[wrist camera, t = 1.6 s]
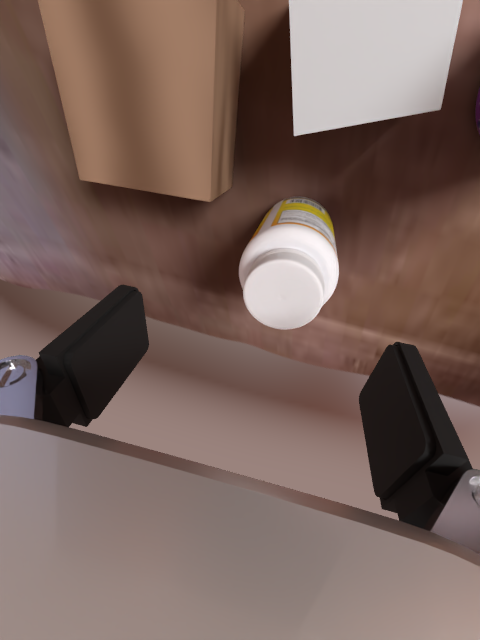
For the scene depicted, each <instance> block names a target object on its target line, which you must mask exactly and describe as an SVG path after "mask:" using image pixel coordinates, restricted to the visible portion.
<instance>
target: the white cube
mask: <svg viewBox="0 0 480 640" xmlns="http://www.w3.org/2000/svg"><path fill="white" fill-rule="evenodd" d="M462 2H463V0H289V15H290V43H291V70H292V98H293V126H294V136H298V135H303V134H309V133H314V132H320V131H325V130H331V129H337V128H342V127H348V126H353V125H359V124H364V123H370V122H375V121H381V120H386V119H392V118H397V117H403V116H409V115H414V114H420V113H425V112H431V111H436V110H441V105H442V100H443V96H444V91H445V86H446V81H447V76H448V71H449V66H450V61H451V56H452V51H453V46H454V41H455V37H456V32H457V27H458V22H459V17H460V12H461V7H462Z"/></svg>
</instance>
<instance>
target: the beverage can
mask: <svg viewBox="0 0 480 640" xmlns="http://www.w3.org/2000/svg"><path fill="white" fill-rule="evenodd" d="M475 116H476V125H477V129H478V132H479V135H480V88H479V91H478V95H477V100H476V110H475Z"/></svg>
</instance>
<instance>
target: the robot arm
mask: <svg viewBox="0 0 480 640" xmlns="http://www.w3.org/2000/svg"><path fill="white" fill-rule="evenodd" d="M148 346H149V341H148V334H147V326H146V319H145V312H144V305H143V298H142V294H141V292H139V291H138V289H137V288H136V287H131V286H126V285H120V286H118V287H117V288H116V289H115V290H114V291H112V292H111V293H110V294H109V295H107V296H106V297H105V298H104V299H103V300H101V301H100V302H99V303H98V304H97V305H95V306H94V307H93V308H92V309H91V310H89V311H88V312H87V313H86V314H85V315H83V316H82V317H81V318H80V319H79V320H77V321H76V322H75V323H74V324H73V325H71V326H70V327H69V328H68V329H66V330H65V331H64V332H63V333H62V334H60V335H59V336H58V337H57V338H56V339H54V340H53V341H52V342H51V343H50V344H48V345H47V346H46V347H45V348H44V349H43V350H41V351H40V352H39V354H40V357H39V358H38V359H36V360H35V359H34V358H32V357H29V356H22V355H18V356H11V357H7V358H4V359H1V360H0V640H480V470H477V469H473V468H472V466H471V464H470V462H469V459H468V457H467V455H466V452H465V450H464V448H463V446H462V444H461V442H460V440H459V437H458V435H457V433H456V431H455V429H454V427H453V425H452V422H451V421H450V418H449V416H448V414H447V412H446V410H445V408H444V405H443V403H442V401H441V399H440V397H439V395H438V392H437V390H436V388H435V386H434V384H433V382H432V380H431V377H430V375H429V373H428V371H427V369H426V367H425V365H424V362H423V360H422V358H421V356H420V354H419V352H418V350H417V348H416V346H414V345H410V344H405V343H400V342H395V343H394V344H393V345H388V346H387V348H386V349H385V351H384V353H383V355H382V356H381V358H380V360H379V361H378V363H377V365H376V367H375V368H374V370H373V372H372V374H371V375H370V377H369V379H368V380H367V382H366V384H365V386H364V387H363V389H362V391H361V393H360V396H359V404H360V410H361V416H362V422H363V428H364V434H365V439H366V446H367V452H368V458H369V464H370V470H371V476H372V482H373V487H374V492H375V495H376V496H377V497H380V501H381V507H382V509H384V510H388V511H391V512H395V513H398V517H399V521H398V520H395V519H392V518H388V517H384V516H382V515H378V514H375V513H372V512H369V511H365V510H362V509H359V508H355V507H352V506H349V505H345V504H342V503H339V502H335V501H331V500H328V499H325V498H321V497H317V496H314V495H311V494H307V493H303V492H300V491H296V490H293V489H289V488H286V487H282V486H279V485H275V484H272V483H268V482H265V481H261V480H258V479H254V478H251V477H247V476H244V475H240V474H236V473H233V472H229V471H226V470H222V469H219V468H215V467H212V466H207V465H204V464H201V463H197V462H193V461H190V460H186V459H182V458H179V457H176V456H172V455H169V454H165V453H161V452H158V451H154V450H150V449H147V448H143V447H139V446H135V445H132V444H128V443H125V442H121V441H117V440H114V439H110V438H107V437H102V436H99V435H96V434H92V433H88V432H84V431H80V430H76V429H72V428H69V426H70V425H71V424H72V422H73V423H75V424H78V425H82V426H85V427H87V426H88V425H89V423H90V422H91V421H92V419H96V418H98V417H99V415H100V414H101V413H102V411H103V410H104V409H105V407H106V406H107V405H108V403H109V402H110V400H111V399H112V398H113V396H114V395H115V394H116V392H117V391H118V390H119V388H120V387H121V386H122V384H123V383H124V381H125V380H126V379H127V377H128V376H129V375H130V373H131V372H132V371H133V369H134V368H135V367H136V365H137V363H138V362H139V361H140V360H141V358H142V357H143V356H144V354H145V353H146V351H147V350H148Z"/></svg>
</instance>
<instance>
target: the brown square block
mask: <svg viewBox="0 0 480 640" xmlns="http://www.w3.org/2000/svg"><path fill="white" fill-rule="evenodd" d="M38 3H39V7H40V12H41V16H42V20H43V24H44V29H45V33H46V37H47V41H48V46H49V50H50V54H51V58H52V63H53V67H54V71H55V75H56V80H57V84H58V88H59V93H60V97H61V101H62V105H63V110H64V114H65V118H66V122H67V127H68V131H69V135H70V139H71V144H72V148H73V152H74V156H75V161H76V165H77V169H78V174H79V178H80V180H85V181H90V182H96V183H102V184H108V185H114V186H120V187H125V188H131V189H137V190H143V191H149V192H155V193H160V194H166V195H172V196H178V197H184V198H190V199H195V200H201V201H207V202H211V201H213V200H214V199H216V198H217V197H218V196H220V195H221V194H223V193H224V192H226V191H227V190H229V189H230V188H232V178H233V165H234V151H235V138H236V124H237V111H238V97H239V83H240V70H241V56H242V43H243V29H244V16H245V11H244V9H243V8H242V6H241V5H240V3H239V2H238V0H38Z"/></svg>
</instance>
